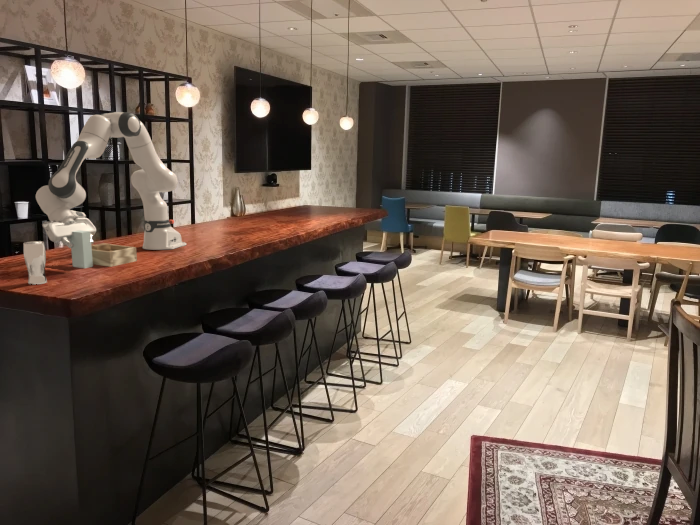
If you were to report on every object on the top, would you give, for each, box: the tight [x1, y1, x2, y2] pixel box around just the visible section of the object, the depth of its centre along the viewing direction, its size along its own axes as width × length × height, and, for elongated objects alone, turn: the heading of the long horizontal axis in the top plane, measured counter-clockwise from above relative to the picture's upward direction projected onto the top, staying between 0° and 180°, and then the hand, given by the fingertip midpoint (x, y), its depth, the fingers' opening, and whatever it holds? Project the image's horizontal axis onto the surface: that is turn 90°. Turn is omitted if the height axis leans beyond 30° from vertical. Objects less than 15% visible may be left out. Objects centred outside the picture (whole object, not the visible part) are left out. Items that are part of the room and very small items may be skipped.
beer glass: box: [23, 240, 48, 286], centre depth 205 cm, size 7×7×15 cm
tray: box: [92, 243, 138, 268], centre depth 240 cm, size 14×18×7 cm
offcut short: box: [91, 242, 111, 251], centre depth 242 cm, size 7×4×3 cm, turn 155°
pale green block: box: [69, 230, 94, 269], centre depth 229 cm, size 4×7×15 cm, turn 65°
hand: (82, 245), depth 228 cm, fingers open, 8 cm apart
